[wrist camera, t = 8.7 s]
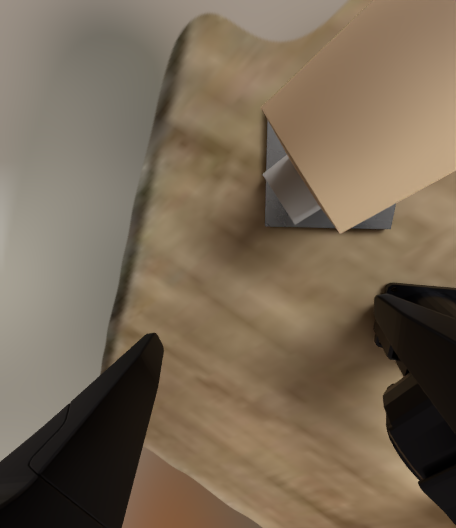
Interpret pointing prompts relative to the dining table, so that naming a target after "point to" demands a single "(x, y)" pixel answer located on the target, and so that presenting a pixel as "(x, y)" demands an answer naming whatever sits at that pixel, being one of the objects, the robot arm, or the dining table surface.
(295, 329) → the dining table surface
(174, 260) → the dining table surface
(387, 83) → the block
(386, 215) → the steel plate
